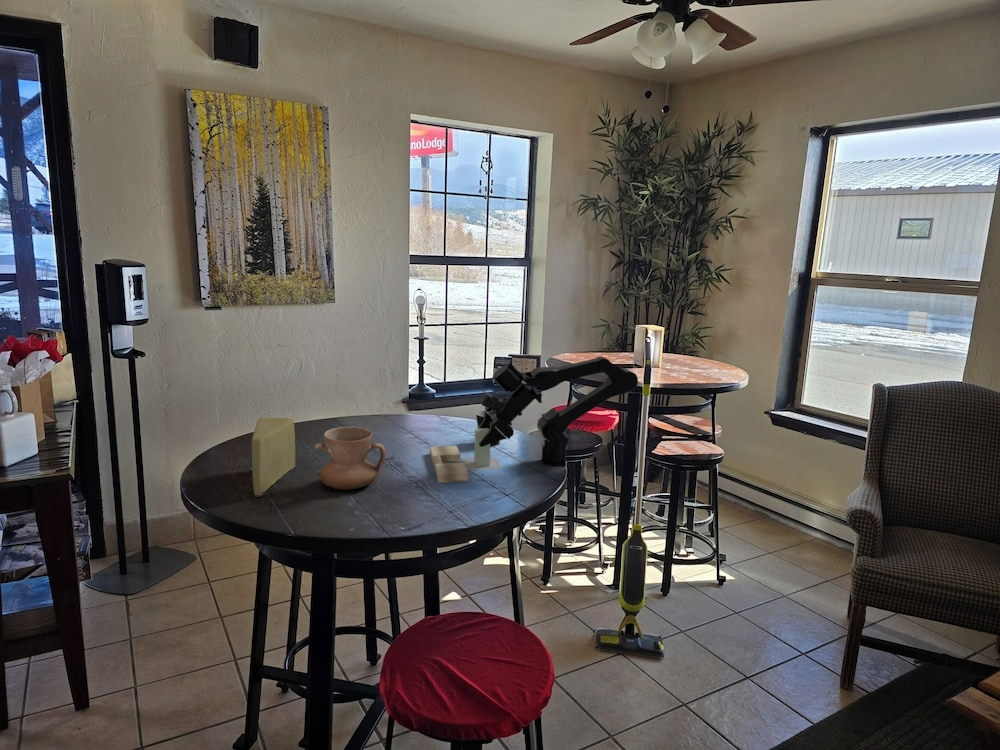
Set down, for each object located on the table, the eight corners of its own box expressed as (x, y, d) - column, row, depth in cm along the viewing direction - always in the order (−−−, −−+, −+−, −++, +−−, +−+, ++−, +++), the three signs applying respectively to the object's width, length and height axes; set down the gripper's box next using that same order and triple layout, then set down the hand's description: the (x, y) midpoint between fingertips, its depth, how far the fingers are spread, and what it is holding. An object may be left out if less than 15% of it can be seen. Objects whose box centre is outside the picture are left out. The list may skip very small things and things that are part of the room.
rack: (456, 453, 195) (456, 445, 195) (468, 481, 172) (468, 472, 172) (430, 454, 194) (430, 446, 193) (438, 483, 171) (438, 474, 170)
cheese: (278, 498, 159) (274, 439, 156) (237, 498, 158) (233, 440, 155) (297, 467, 181) (294, 416, 178) (261, 468, 180) (258, 416, 177)
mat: (496, 458, 191) (496, 457, 191) (502, 470, 182) (502, 469, 182) (463, 459, 190) (463, 458, 190) (466, 471, 180) (466, 470, 180)
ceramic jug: (311, 495, 161) (310, 441, 158) (319, 474, 175) (318, 424, 172) (384, 494, 163) (384, 441, 160) (386, 474, 177) (387, 424, 174)
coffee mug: (500, 448, 200) (501, 417, 198) (473, 447, 202) (473, 416, 200) (506, 438, 212) (506, 408, 210) (480, 436, 213) (480, 407, 211)
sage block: (487, 461, 188) (488, 428, 186) (489, 465, 184) (490, 432, 182) (474, 461, 187) (474, 428, 185) (476, 466, 183) (476, 432, 181)
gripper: (492, 376, 191) (455, 413, 191) (502, 390, 173) (461, 431, 173) (517, 402, 193) (480, 438, 194) (530, 418, 175) (489, 458, 176)
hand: (477, 440), depth 184 cm, fingers open, 9 cm apart
